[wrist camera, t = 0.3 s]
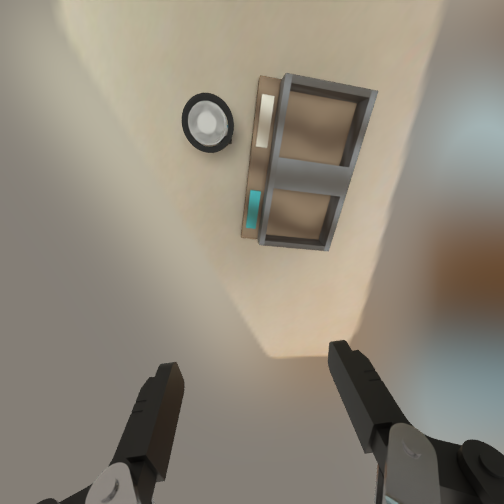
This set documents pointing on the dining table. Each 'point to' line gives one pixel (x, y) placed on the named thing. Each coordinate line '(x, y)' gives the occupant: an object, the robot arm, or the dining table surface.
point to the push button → (207, 122)
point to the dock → (302, 159)
